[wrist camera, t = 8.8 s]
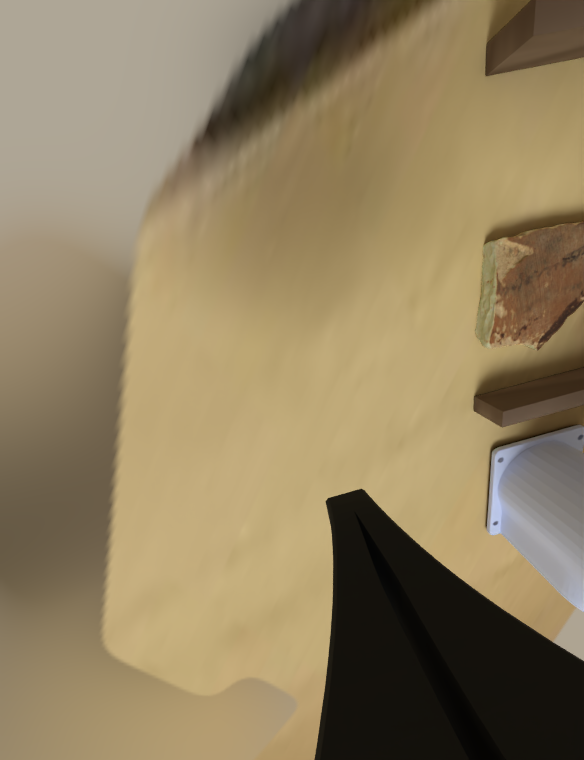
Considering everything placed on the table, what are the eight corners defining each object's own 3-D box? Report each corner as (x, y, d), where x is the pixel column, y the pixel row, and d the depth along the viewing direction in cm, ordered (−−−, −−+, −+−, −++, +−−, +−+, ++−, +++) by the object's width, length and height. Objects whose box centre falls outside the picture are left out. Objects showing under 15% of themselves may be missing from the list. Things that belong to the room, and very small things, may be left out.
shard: (631, 214, 18) (670, 207, 16) (601, 330, 21) (632, 335, 19) (476, 237, 17) (501, 233, 15) (466, 356, 20) (486, 363, 18)
